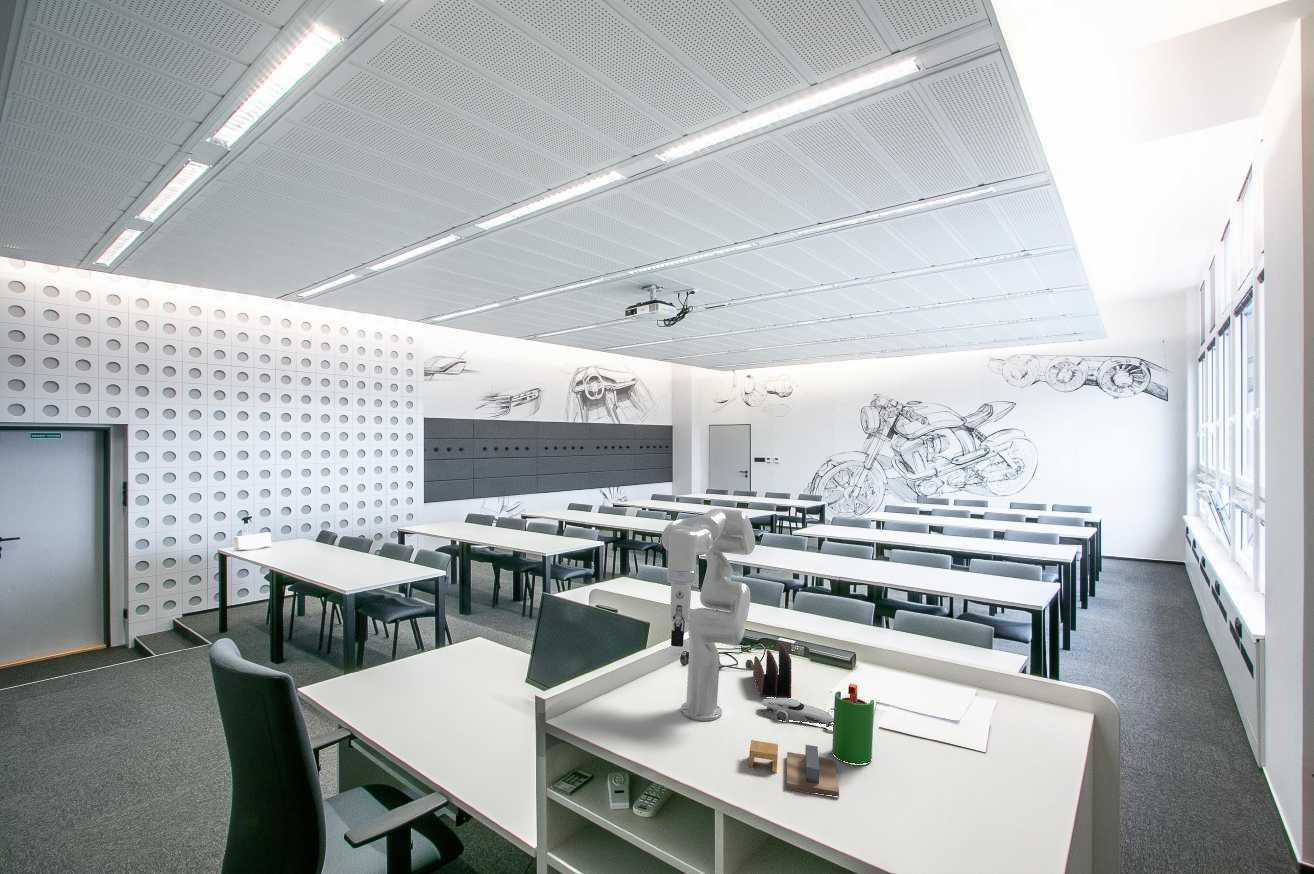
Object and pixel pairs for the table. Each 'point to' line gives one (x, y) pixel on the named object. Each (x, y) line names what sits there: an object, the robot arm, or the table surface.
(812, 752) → the rail
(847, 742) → the motor
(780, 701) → the car model
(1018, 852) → the table surface
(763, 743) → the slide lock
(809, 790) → the rail base
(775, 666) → the letter holder
